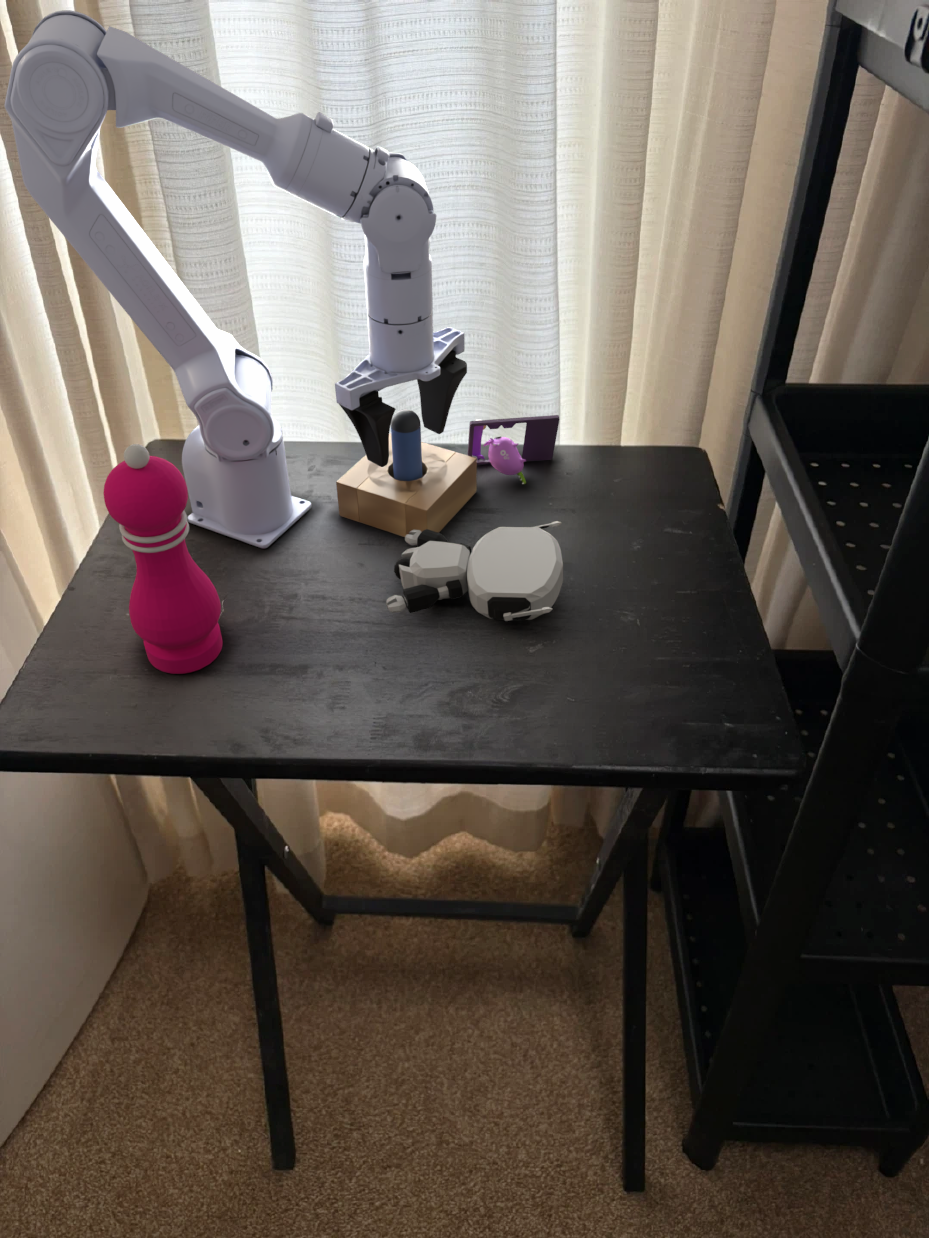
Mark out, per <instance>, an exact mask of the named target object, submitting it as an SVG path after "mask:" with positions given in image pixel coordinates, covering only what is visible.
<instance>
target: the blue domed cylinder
mask: <svg viewBox="0 0 929 1238" xmlns="http://www.w3.org/2000/svg"><path fill="white" fill-rule="evenodd" d="M421 426H422V425H421V419H420V417H419V415H418V414H417V413H416V412H415V411H413V410H411V409H407V408H403V409H400V410H398V411H395V412H394V414H393V417H392V421H391V425H390V433H391V439H392V455H393V472H394V479H396V480H399V481H413V480H417V479H419V478H422V450H421V442H422V429H421V428H422V427H421Z"/></svg>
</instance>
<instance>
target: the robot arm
mask: <svg viewBox="0 0 929 1238" xmlns="http://www.w3.org/2000/svg"><path fill="white" fill-rule="evenodd" d="M4 109H5V112H6V114H7V115H8V117H9V120H10V121H11V126H12V131H13V137H14V142H15V147H16V152H17V157H18V162H19V167H20V172H21V177H22V181H23V185H24V187H25V189H26V190H27V192H28V194H29V195H30V196H31V198H32V199H33V200H34V202H36V204H37V205H38V206H39V207H40V209H41V210H42V211H43V212H44V214H45V215H46V216H47V217H48V218H49V220H50V221H51V222H52V223H53V224H54V226H55V227H56V229H57V230H58V231H59V232H60V233H61V234H62V236H63V237H64V238H65V239H66V240H67V241H68V243H69V244H70V246H71V247H72V248H73V249H74V250H75V251H76V253H77V254H78V255H79V257H80V258H81V259H82V260H83V261H84V262H85V264H86V265H87V266H88V268H89V269H90V270H91V271H92V273H94V275H95V276H96V277H97V278H98V280H99V281H100V282H101V284H103V286H104V287H105V288H106V290H107V291H108V292H109V293H110V294H111V295H112V297H113V298H114V299H115V300H116V302H117V303H118V305H120V307H121V308H122V309H123V311H124V312H125V314H127V315H128V316H129V318H130V319H131V320H132V322H134V324H135V325H136V326H137V328H138V329H139V330H140V331H141V332H142V333H143V335H144V336H145V337H146V339H147V340H148V341H149V342H150V343H151V345H152V346H153V347H154V348H155V350H156V351H157V352H158V354H159V355H161V357H162V358H163V359H164V360H165V362H166V363H167V364H168V366H169V367H170V368H171V369H172V370H173V372H174V375H175V377H176V379H177V383H178V385H179V388H180V391H181V394H182V397H183V399H184V402H185V404H186V407H187V408H188V409H189V410H190V411H191V413H193V415H194V417H195V418H196V420H197V423H198V425H197V426H196V427H194V428H193V429H192V430H191V432H190V433H189V434H188V435H187V436H186V437H187V438H186V439H185V441H184V444H183V447H182V452H181V467H182V471H183V477H184V479H185V482H186V485H187V490H188V500H189V502H190V507H191V513H190V514H189V515H187V522H188V523H190V524H193V525H196V526H198V527H200V528H204V529H206V530H209V531H212V532H215V533H218V534H220V535H223V536H227V537H229V538H231V539H235V540H238V541H240V542H243V543H246V544H249V545H252V546H254V547H258V548H260V549H267V548H269V547H270V546H271V545H272V544H273V543H274V542H275V541H277V539H278V538H279V537H281V536H282V535H283V534H284V533H285V532H286V531H287V530H288V529H290V528H291V527H292V526H293V525H294V524H295V523H296V522H297V521H298V520H299V519H300V518H302V517H303V516H304V515H305V514H306V513H307V512H308V511H310V510H311V509H312V507H313V506H312V502H311V501H309V500H306V499H303V498H300V497H297V496H294V495H292V492H291V491H292V490H291V484H290V477H289V469H288V464H287V463H288V461H287V456H286V447H285V441H284V433H283V429H282V425H281V424H280V423H279V422H278V421H277V420H276V419H275V417H274V416H273V407H272V405H273V403H272V392H273V383H274V381H273V376H272V375H273V374H272V372H271V370H270V368H269V366H268V364H267V363H266V362H265V361H264V360H263V359H262V358H261V357H259V356H258V355H256V354H255V353H253V352H250V351H248V350H247V349H245V348H244V347H242V345H240V344H239V342H238V341H237V340H236V339H235V338H234V336H233V335H232V333H229V332H227V331H224V330H221V329H219V328H217V326H216V325H215V323H214V322H213V321H212V320H211V318H210V316H208V315H207V313H206V311H205V310H204V309H203V308H202V306H201V305H200V304H199V302H198V301H197V300H196V298H195V297H194V296H193V295H192V293H191V292H190V291H189V289H188V288H187V287H186V285H185V284H184V282H183V281H182V280H181V279H180V277H179V276H178V275H177V273H176V272H175V271H174V270H173V268H172V266H170V264H169V263H168V261H167V260H166V259H165V258H164V256H163V255H162V253H161V252H160V251H159V249H158V248H157V247H156V246H155V244H154V243H153V241H152V240H151V239H150V238H149V236H148V235H147V234H146V232H145V231H144V230H143V228H142V227H141V225H139V223H138V222H137V220H136V219H135V217H134V216H133V215H132V214H131V212H130V210H128V208H127V207H126V206H125V204H124V203H123V202H122V200H121V199H120V198H119V196H118V195H117V194H116V193H115V191H114V190H113V188H112V187H111V186H110V184H109V183H108V182H107V181H106V179H105V178H104V177H103V176H102V174H101V173H100V172H99V170H98V168H97V165H96V162H97V156H98V155H97V154H98V148H99V147H98V146H99V141H100V135H101V134H100V133H101V132H100V131H101V127H102V125H103V123H104V120H105V118H106V115H107V113H108V111H115V127H116V128H117V129H122V128H126V127H129V126H133V125H138V124H142V123H145V122H148V121H152V120H156V119H162V120H165V121H167V122H170V123H172V124H174V125H176V126H179V127H181V128H183V129H185V130H188V131H190V132H192V133H195V134H197V135H199V136H201V137H203V138H206V139H208V140H211V141H213V142H215V143H218V144H220V145H222V146H225V147H227V148H229V149H231V150H233V151H235V152H238V153H241V154H243V155H244V156H248V157H250V158H252V159H254V160H256V161H259V162H261V163H262V164H263V166H264V168H265V170H266V172H267V175H268V177H269V179H270V182H271V184H272V185H273V186H274V187H275V188H277V189H279V190H282V191H283V192H285V193H287V194H289V195H292V196H293V197H295V198H297V199H300V200H302V201H303V202H305V203H308V204H310V205H312V206H314V207H316V208H318V209H320V210H322V211H324V212H327V213H328V214H330V215H333V216H334V217H337V218H340V220H342V221H346V222H349V223H355V224H359V225H360V226H361V229H362V232H363V234H364V246H365V248H364V249H365V254H364V257H363V261H362V263H363V275H364V288H365V289H364V291H365V304H366V321H367V334H368V348H369V353H368V354H367V355H366V356H365V357H364V358H363V359H362V360H361V361H360V362H359V363H358V364H357V365H356V366H355V367H354V368H353V369H352V370H351V371H350V372H349V373H348V374H347V375H346V376H345V377H343V378H342V379H340V380H338V381H337V382H334V390H335V400H336V401H335V402H336V403H337V404H338V405H339V407H340V408H341V409H342V410H343V411H344V413H345V414H346V416H347V417H348V418H349V420H350V422H351V423H352V425H353V427H354V428H355V431H356V433H357V435H358V437H359V440H360V442H361V445H362V448H363V450H364V453H365V455H366V456H367V459H368V460H369V461H371V462H373V463H375V464H376V465H378V466H380V467H384V466H385V465H387V464H388V459H389V434H390V432H391V421H392V417H393V415H394V414H395V413H396V410H397V409H396V408H395V407H393V406H392V405H390V404H387V403H385V402H383V397H382V396H380V395H379V392H380V391H382V390H384V389H386V388H389V387H393V386H397V385H401V384H404V383H409V382H412V381H416V382H417V385H418V392H419V401H420V413H421V420H422V424H423V428H425V429H427V430H429V431H431V432H433V433H435V434H438V435H441V434H443V433H444V431H445V428H446V424H447V421H448V417H449V413H450V409H451V406H452V402H453V400H454V397H455V395H456V392H457V390H458V388H459V386H460V384H461V383H462V381H463V379H464V378H465V377H466V375H467V374H468V363H467V362H466V361H465V360H464V359H461V358H458V357H457V356H458V355H460V354H463V353H464V352H465V348H466V347H465V345H466V344H465V332H464V331H461V330H459V329H456V328H454V327H451V326H447V327H445V328H442V329H440V330H437V331H434V307H433V306H434V301H433V296H434V295H433V260H432V256H431V254H430V249H431V236H432V234H433V232H434V230H435V228H436V223H437V214H436V213H435V212H434V205H433V201H432V199H431V195H430V193H429V190H428V187H427V185H426V184H427V183H426V181H425V178H424V176H423V175H422V173H421V171H420V170H419V169H418V168H417V167H416V165H415V164H414V163H413V162H411V161H410V160H409V159H407V158H406V157H405V155H404V154H403V153H400V152H394V151H390V152H389V150H387V149H386V148H384V147H382V146H380V145H377V146H376V147H375V149H373V148H370V147H369V146H366V145H365V144H363V143H361V142H359V141H357V140H355V139H353V138H351V137H350V136H347V135H346V134H344V133H342V132H340V131H338V130H336V129H334V127H335V124H334V120H333V118H332V117H330V116H328V115H326V114H324V113H322V112H320V111H318V112H317V113H316V115H315V117H314V118H313V117H311V116H309V115H307V114H306V113H304V112H297V113H294V114H290V115H287V116H284V117H279V118H277V117H274V116H273V115H271V114H270V113H267V112H266V111H264V110H262V109H260V108H259V107H257V106H255V105H253V104H252V103H250V102H248V101H246V100H245V99H243V98H241V97H239V96H238V95H236V94H234V93H233V92H231V91H229V90H227V89H225V88H224V87H222V86H221V85H219V84H217V83H216V82H213V81H212V80H210V79H208V78H206V77H205V76H203V75H201V74H199V73H197V72H196V71H194V70H193V69H191V68H189V67H187V66H185V65H184V64H182V63H180V62H179V61H177V60H175V59H173V58H172V57H170V56H168V55H166V54H165V53H162V52H161V51H159V50H157V49H155V47H152V46H150V45H149V44H147V43H146V42H144V41H142V40H140V39H139V38H137V37H136V36H134V35H132V34H131V33H129V32H127V31H125V30H122V29H119V28H116V27H113V26H110V25H109V26H108V28H107V30H106V28H105V27H104V26H103V25H102V24H101V23H99V22H98V21H97V20H96V19H94V18H92V16H89V15H87V14H85V13H83V12H80V11H76V10H69V9H67V10H66V9H65V10H63V9H62V10H57V11H54V12H51V13H49V14H47V15H46V16H44V17H43V18H41V20H39V22H38V23H37V24H36V26H35V27H34V30H33V32H32V34H31V37H30V39H29V40H28V42H27V43H26V45H25V46H24V47H23V48H22V49H20V51H19V52H18V54H17V55H16V56H15V58H14V60H13V62H12V65H11V69H10V73H9V79H8V84H7V89H6V94H5V100H4Z"/></svg>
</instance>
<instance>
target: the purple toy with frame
mask: <svg viewBox="0 0 929 1238" xmlns="http://www.w3.org/2000/svg"><path fill="white" fill-rule="evenodd" d="M516 424H525V430H524V431H525V432H524V437H523V438H524V440H523V446H522V452H521V453H522V454H520V452H519V449H518V448H517V446H518V445H519V443H516V442H515V441H513V440H512V439H511V438H509V437H505V436H502V435H501V436H497V437H494V438H492V437H490V438H489V439H488V440H487V441H485V442H484V443H483V447H486V446H488V450H487V451H488V453H487V455H488V459H485V456H484V455H483V454H482V437H483V434H484V433H483V432H484V430H485V429H486V428H487V427H488V429H489V430H498V429H499V428H500V427H502V428H503V429H512V428H513V427H514V426H515V425H516ZM559 425H560V415H559V414H552V415H550V414H549V415H539V416H538V415H537V416H524V417H509V418H496V419H495V418H493V419H480V418H477V419H474V420H471V421H469V426H468V439H467V441H468V442H467V455H468V456H471V457H475V458H477V466H482V465H491V466H492V467H493V468H494V469H495V470H496V471H498V473H500V474H501V475H506V476H515V475H517V476H518V477H517V478H518V479H519V480H518V481H520V482H521V485H526V484H527V481H526V477H525V475H524V473H523V472H522V471H523V470H524V463H526V462H536V461H537V462H539V461H551V460H553V458H554V452H555V447H556V441H557V436H558V430H559Z"/></svg>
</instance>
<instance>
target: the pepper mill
mask: <svg viewBox="0 0 929 1238" xmlns="http://www.w3.org/2000/svg"><path fill="white" fill-rule="evenodd" d="M103 500H104V504H105V508H106V510H107V512H108V515H109V516H110V517H111V518H112V519H113V520H114V521H115V522H116V523H118V524H119V525H118V528H119V532H120V534H121V541H122V542H123V544H124V545H125V546H126V547H127V548H128V549H130V550H131V551H132V553H133V555H134V560H135V565H136V573H135V579H134V582H133V584H132V587H131V590H130V594H129V595H130V596H129V601H128V603H129V604H128V612H129V619H130V623H131V626H132V629H133V630H134V632H135V633H136V635H137V636H139V638H140V639H142V640H143V646H144V649H145V652H146V653H145V654H146V655H147V656H146V657H147V659H148V662H149V663H150V664H151V665H152V666H153V667H154V668H155V669H157V670H159V671H161V672H163V673H167V674H171V675H175V674H177V675H183V674H190V673H193V672H197V671H199V670H202V669H203V668H205V667H207V666H209V665H211V664H212V662H214V661H215V660H216V659H217V658H218V656H219V655H220V653H221V651H222V650H223V644H224V643H223V642H224V641H223V636H222V632H221V627H220V624H219V620H220V617H221V614H222V603H221V599H220V596H219V593H218V590H217V589H216V587H215V585H214V584H213V582H212V580H211V579H210V578H209V576H208V575H207V574H206V573H205V572H204V571H203V569H201V568H200V567H199V565H198V564H197V562H195V560H194V559H193V557H192V556H191V554H190V552H189V550H188V547H187V543H186V537H187V536H188V535H189V532H190V524H189V522H188V519H187V517H188V515H187V512H186V511H185V509H186V507H187V504H188V501H189V494H188V490H187V485H186V480H185V476H184V475H183V474H182V472H181V471H180V470H179V469H178V467H177V466H176V465H174V464H173V463H172V462H171V461H169V460H167V459H165V458H162V457H159V456H156V455H150V452H149V451H148V449H147V448H146V446H144V445H142V444H140V443H133V444H130V445H129V446H127V447H126V448H125V450H124V451H123V461H121V462H119V463H118V464H116V465H115V466H114V467H113V468H112V469H111V471H110V472H109V473H108V474H107V477H106V479H105V482H104V485H103Z"/></svg>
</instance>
